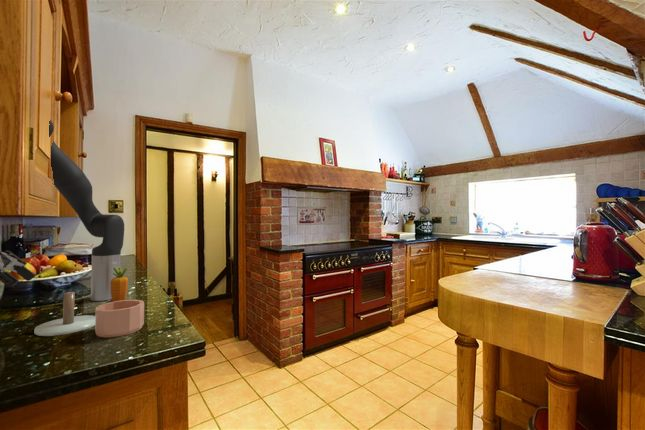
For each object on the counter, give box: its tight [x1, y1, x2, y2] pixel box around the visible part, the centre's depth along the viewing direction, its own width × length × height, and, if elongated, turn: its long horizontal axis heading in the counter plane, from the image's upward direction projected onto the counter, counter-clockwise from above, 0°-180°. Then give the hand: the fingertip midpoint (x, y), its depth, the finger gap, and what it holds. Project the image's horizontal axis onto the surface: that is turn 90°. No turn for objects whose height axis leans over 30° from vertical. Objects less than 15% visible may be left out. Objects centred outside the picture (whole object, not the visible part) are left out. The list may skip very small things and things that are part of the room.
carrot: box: [110, 267, 129, 302], centre depth 99 cm, size 5×5×15 cm
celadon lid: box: [33, 291, 95, 337], centre depth 84 cm, size 14×14×10 cm
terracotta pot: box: [94, 299, 145, 338], centre depth 81 cm, size 11×11×7 cm
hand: (24, 281), depth 80 cm, fingers open, 8 cm apart
